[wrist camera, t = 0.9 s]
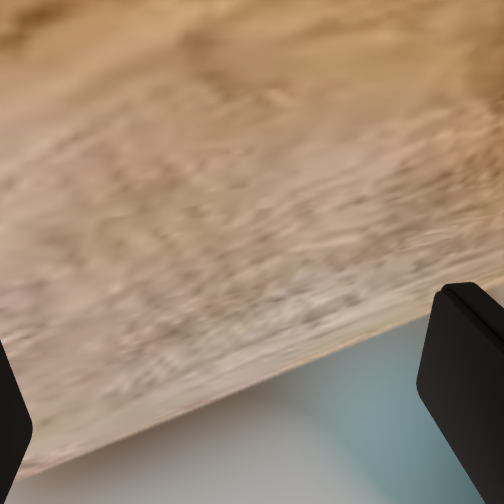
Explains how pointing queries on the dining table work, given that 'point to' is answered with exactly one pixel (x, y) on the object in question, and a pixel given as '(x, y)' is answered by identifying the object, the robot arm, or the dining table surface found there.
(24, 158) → the dining table surface
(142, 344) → the dining table surface
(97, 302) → the dining table surface
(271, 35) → the dining table surface
